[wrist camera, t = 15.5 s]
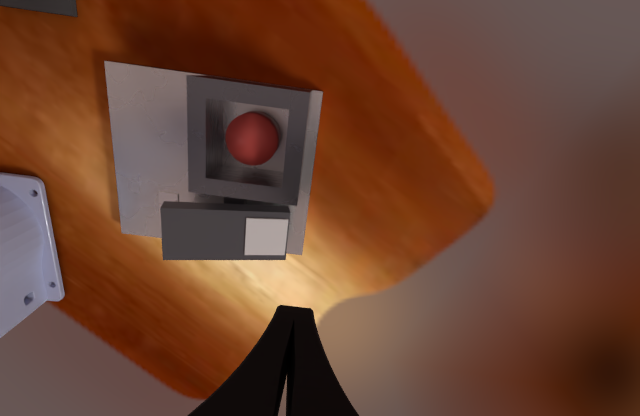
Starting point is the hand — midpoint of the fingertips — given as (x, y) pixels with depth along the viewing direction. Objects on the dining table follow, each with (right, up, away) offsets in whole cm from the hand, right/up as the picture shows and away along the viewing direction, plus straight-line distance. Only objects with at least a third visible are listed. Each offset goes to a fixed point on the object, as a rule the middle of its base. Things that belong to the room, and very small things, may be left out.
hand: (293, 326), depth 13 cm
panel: (-5, +7, +8) cm, 12 cm away
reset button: (-3, +9, +6) cm, 11 cm away
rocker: (-4, +3, +6) cm, 8 cm away
